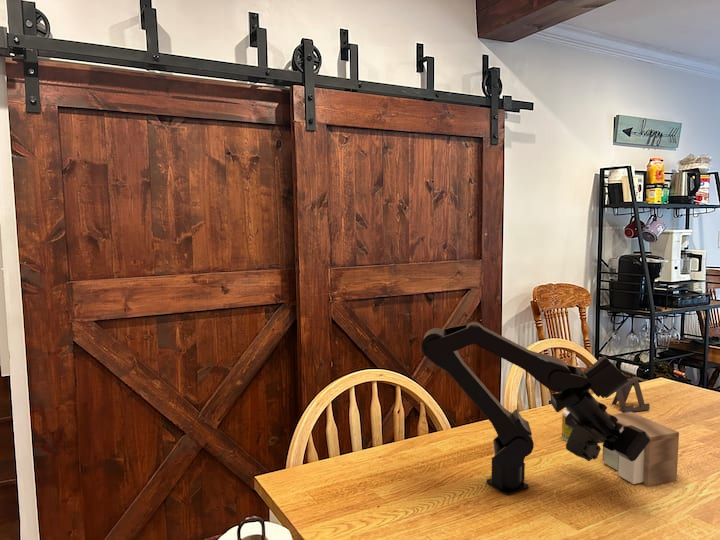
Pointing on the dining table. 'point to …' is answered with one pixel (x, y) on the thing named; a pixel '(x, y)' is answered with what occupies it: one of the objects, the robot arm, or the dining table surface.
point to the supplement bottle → (565, 426)
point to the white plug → (632, 468)
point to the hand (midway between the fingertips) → (625, 452)
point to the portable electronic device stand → (623, 395)
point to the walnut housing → (651, 449)
